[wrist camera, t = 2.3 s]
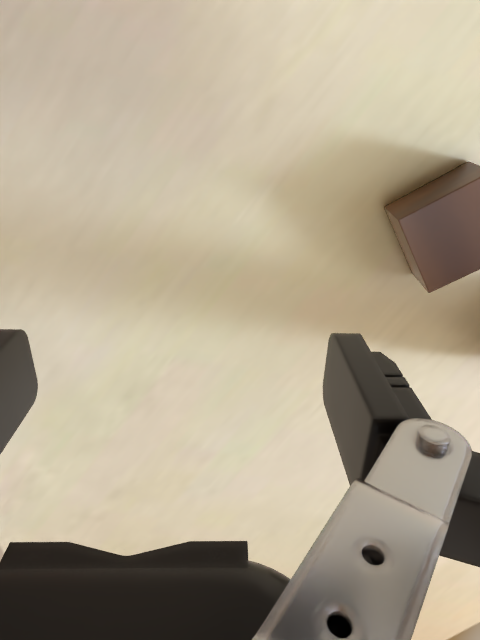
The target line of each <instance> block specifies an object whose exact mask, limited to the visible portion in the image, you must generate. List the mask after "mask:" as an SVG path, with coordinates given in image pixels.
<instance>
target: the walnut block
mask: <svg viewBox="0 0 480 640" xmlns="http://www.w3.org/2000/svg"><path fill="white" fill-rule="evenodd" d="M384 208H385V211H386V213H387V215H388V218H389V220H390V222H391V225H392V227H393V229H394V232H395V234H396V236H397V239H398V241H399V243H400V246H401V248H402V250H403V252H404V255H405V257H406V259H407V262H408V264H409V266H410V269H411V271H412V273H413V275H414V276H415V277H416V279H417V280H418V281H419V282H420V283H421V284H422V286H423V287H424V288H425V289H426V290H427V291H428V292H429V293H430V292H432V291H434V290H437V289H439V288H441V287H443V286H445V285H447V284H449V283H451V282H454V281H456V280H458V279H460V278H462V277H464V276H466V275H468V274H471V273H473V272H475V271H477V270H479V269H480V166H479V165H476V164H474V163H471V162H467V163H465V164H463V165H461V166H459V167H458V168H456V169H454V170H452V171H450V172H448V173H446V174H445V175H443V176H441V177H439V178H437V179H435V180H433V181H432V182H430V183H428V184H426V185H424V186H422V187H420V188H419V189H417V190H415V191H413V192H411V193H409V194H407V195H406V196H404V197H402V198H400V199H398V200H396V201H394V202H393V203H391V204H389V205H387V206H385V207H384Z"/></svg>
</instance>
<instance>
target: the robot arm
mask: <svg viewBox="0 0 480 640" xmlns="http://www.w3.org/2000/svg"><path fill="white" fill-rule="evenodd" d="M37 389H38V383H37V377H36V372H35V368H34V363H33V359H32V354H31V350H30V345H29V340H28V337H27V334H26V333H25V332H24V331H23V330H13V329H0V454H1V453H2V451H3V450H4V448H5V446H6V445H7V443H8V442H9V440H10V439H11V437H12V436H13V434H14V433H15V431H16V430H17V428H18V427H19V425H20V424H21V422H22V421H23V419H24V417H25V416H26V414H27V413H28V411H29V410H30V408H31V407H32V405H33V404H34V402H35V399H36V396H37ZM323 400H324V405H325V408H326V412H327V415H328V418H329V421H330V424H331V427H332V430H333V433H334V437H335V440H336V443H337V446H338V449H339V452H340V455H341V458H342V462H343V465H344V468H345V471H346V474H347V477H348V480H349V483H350V487H349V489H348V490H347V492H346V493H345V495H344V497H343V498H342V500H341V501H340V503H339V504H338V506H337V508H336V509H335V511H334V512H333V514H332V516H331V517H330V519H329V520H328V522H327V523H326V525H325V527H324V528H323V530H322V531H321V533H320V534H319V536H318V538H317V539H316V541H315V542H314V544H313V545H312V547H311V549H310V550H309V552H308V553H307V555H306V556H305V558H304V560H303V561H302V563H301V564H300V566H299V567H298V569H297V571H296V572H295V574H294V575H293V577H292V578H291V579H289V578H288V577H286V576H285V575H283V574H281V573H279V572H278V571H276V570H274V569H272V568H269V567H267V566H264V565H262V564H259V563H256V562H252V561H248V546H247V541H191V542H186V543H182V544H177V545H173V546H169V547H165V548H161V549H157V550H153V551H148V552H144V553H140V554H136V555H131V556H122V555H117V554H113V553H109V552H105V551H102V550H98V549H94V548H90V547H86V546H82V545H78V544H74V543H70V542H10V544H9V546H8V548H7V550H6V552H5V553H4V555H3V557H2V559H1V562H0V640H411V638H412V635H413V632H414V629H415V626H416V623H417V620H418V617H419V614H420V611H421V608H422V605H423V602H424V599H425V596H426V593H427V590H428V587H429V584H430V581H431V578H432V575H433V572H434V569H435V566H436V563H437V560H438V557H439V555H440V556H443V557H447V558H450V559H453V560H457V561H460V562H464V563H467V564H471V565H474V566H478V567H480V453H477V452H474V451H472V450H471V447H470V444H469V443H468V441H467V440H466V439H465V438H464V437H463V436H462V435H461V434H460V433H459V432H457V431H456V430H454V429H453V428H451V427H449V426H447V425H445V424H443V423H440V422H437V421H434V420H432V419H431V418H430V416H429V415H428V413H427V412H426V410H425V409H424V407H423V405H422V404H421V402H420V401H419V399H418V398H417V396H416V395H415V393H414V392H413V390H412V388H409V384H408V382H407V381H406V379H405V378H404V377H403V375H402V373H401V371H400V370H399V368H398V367H397V365H396V364H395V362H393V361H392V360H390V359H389V358H388V357H386V356H385V355H384V354H382V353H381V352H371V351H370V349H369V348H368V346H367V344H366V342H365V341H364V339H363V337H362V336H361V334H346V333H332V334H331V335H330V338H329V342H328V350H327V357H326V365H325V372H324V380H323Z"/></svg>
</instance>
